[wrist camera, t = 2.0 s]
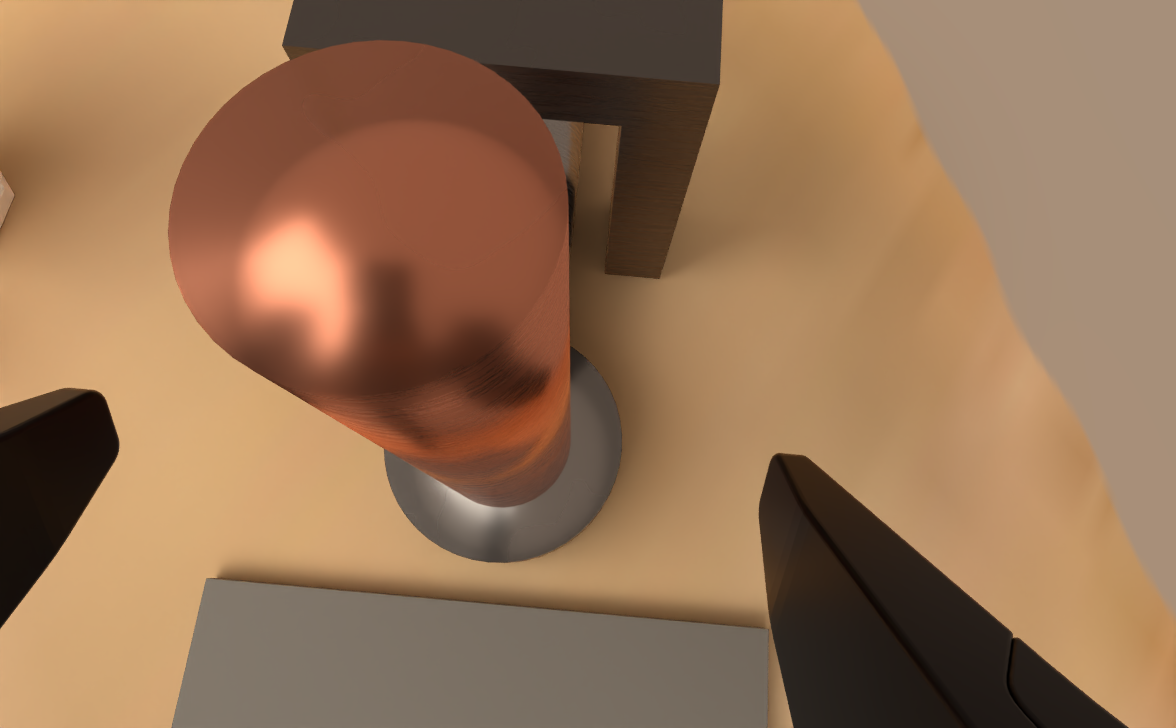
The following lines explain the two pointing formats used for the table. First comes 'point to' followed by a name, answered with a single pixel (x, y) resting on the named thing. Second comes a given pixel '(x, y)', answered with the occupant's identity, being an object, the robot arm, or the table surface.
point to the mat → (458, 665)
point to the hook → (408, 282)
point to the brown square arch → (574, 83)
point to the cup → (4, 198)
